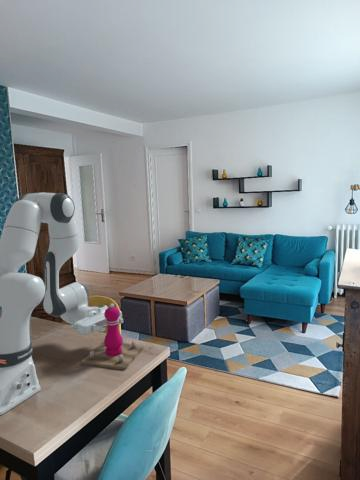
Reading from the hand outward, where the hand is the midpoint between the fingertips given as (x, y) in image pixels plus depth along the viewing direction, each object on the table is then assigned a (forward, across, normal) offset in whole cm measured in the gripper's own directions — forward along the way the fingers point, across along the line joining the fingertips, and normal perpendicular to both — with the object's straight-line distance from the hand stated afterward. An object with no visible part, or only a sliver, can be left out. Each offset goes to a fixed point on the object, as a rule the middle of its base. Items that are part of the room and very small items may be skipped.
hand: (113, 325), depth 133 cm
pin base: (-1, 0, +13) cm, 13 cm away
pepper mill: (-1, 0, +12) cm, 12 cm away
